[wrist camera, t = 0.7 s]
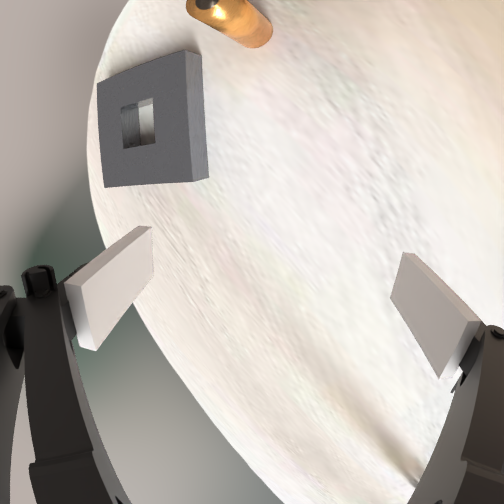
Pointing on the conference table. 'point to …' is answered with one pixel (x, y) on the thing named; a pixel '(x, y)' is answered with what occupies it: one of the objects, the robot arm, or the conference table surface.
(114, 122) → the jig
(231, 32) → the bushing
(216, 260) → the conference table surface
